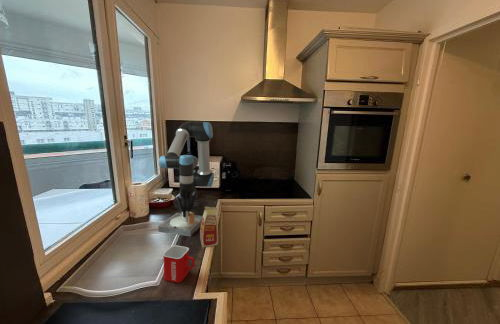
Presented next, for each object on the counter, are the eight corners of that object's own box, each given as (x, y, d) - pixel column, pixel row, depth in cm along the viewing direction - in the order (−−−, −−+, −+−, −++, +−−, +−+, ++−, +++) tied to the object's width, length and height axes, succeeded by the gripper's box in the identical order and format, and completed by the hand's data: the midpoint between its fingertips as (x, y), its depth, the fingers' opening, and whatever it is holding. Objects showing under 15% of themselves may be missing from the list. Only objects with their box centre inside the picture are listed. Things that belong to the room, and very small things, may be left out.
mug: (161, 280, 86) (160, 255, 84) (173, 267, 94) (173, 244, 92) (189, 286, 83) (188, 261, 82) (198, 272, 91) (198, 249, 90)
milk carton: (202, 247, 110) (202, 210, 106) (199, 238, 118) (199, 204, 115) (220, 244, 113) (220, 208, 110) (215, 236, 122) (216, 202, 118)
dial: (164, 226, 126) (164, 214, 125) (180, 216, 140) (180, 205, 139) (186, 230, 122) (186, 218, 121) (200, 220, 136) (200, 209, 135)
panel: (176, 217, 143) (176, 212, 142) (205, 221, 139) (205, 215, 139) (158, 231, 124) (158, 225, 123) (190, 236, 120) (190, 230, 119)
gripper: (179, 185, 115) (179, 227, 119) (199, 182, 125) (199, 220, 128) (172, 182, 120) (172, 222, 124) (192, 179, 130) (192, 216, 133)
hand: (186, 221), depth 126 cm, fingers closed
